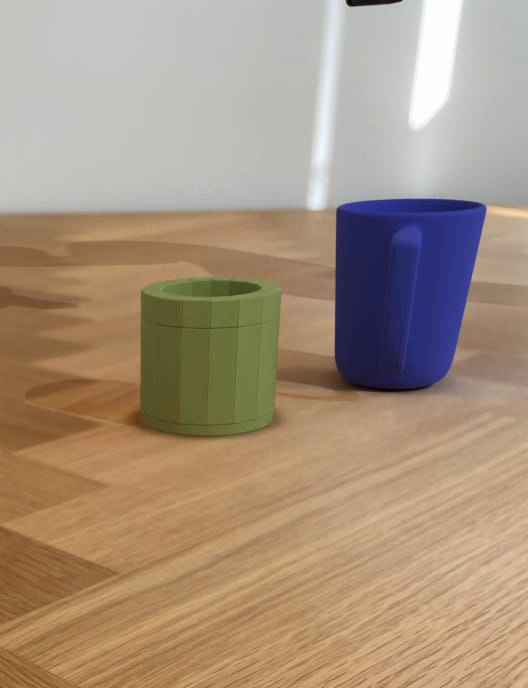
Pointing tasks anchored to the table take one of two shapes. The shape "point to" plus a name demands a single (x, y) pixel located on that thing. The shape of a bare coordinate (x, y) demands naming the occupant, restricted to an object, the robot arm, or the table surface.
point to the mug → (402, 287)
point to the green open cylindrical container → (209, 354)
